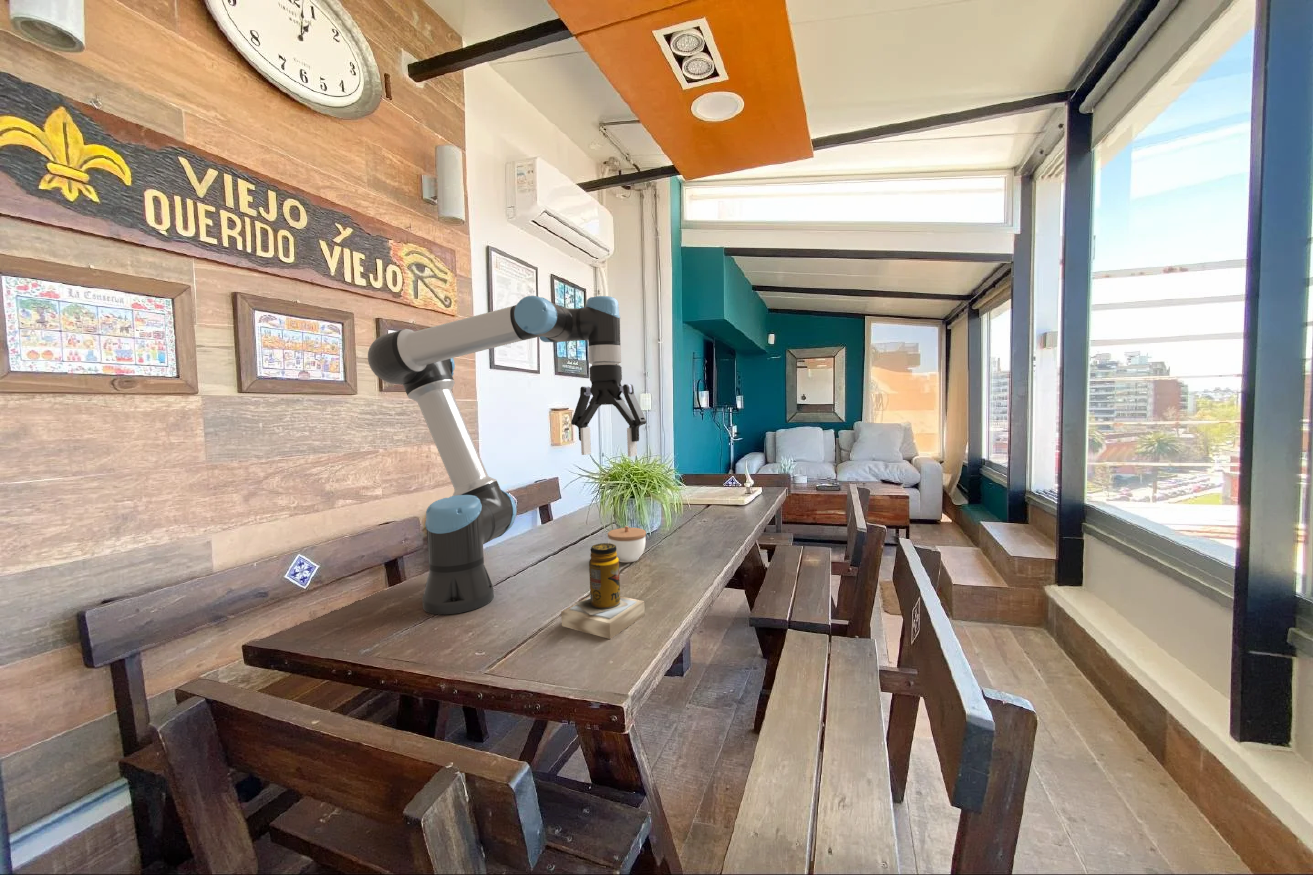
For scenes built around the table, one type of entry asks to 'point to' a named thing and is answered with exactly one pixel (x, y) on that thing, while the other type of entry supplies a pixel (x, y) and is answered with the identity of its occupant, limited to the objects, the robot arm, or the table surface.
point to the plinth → (604, 618)
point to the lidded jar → (628, 543)
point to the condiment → (603, 580)
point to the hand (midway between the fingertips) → (608, 455)
